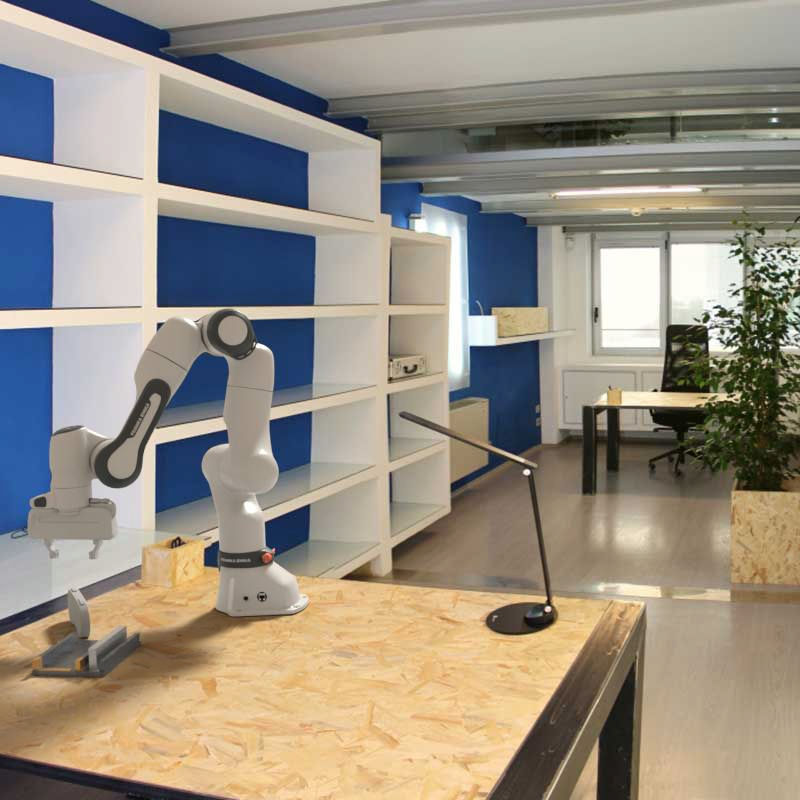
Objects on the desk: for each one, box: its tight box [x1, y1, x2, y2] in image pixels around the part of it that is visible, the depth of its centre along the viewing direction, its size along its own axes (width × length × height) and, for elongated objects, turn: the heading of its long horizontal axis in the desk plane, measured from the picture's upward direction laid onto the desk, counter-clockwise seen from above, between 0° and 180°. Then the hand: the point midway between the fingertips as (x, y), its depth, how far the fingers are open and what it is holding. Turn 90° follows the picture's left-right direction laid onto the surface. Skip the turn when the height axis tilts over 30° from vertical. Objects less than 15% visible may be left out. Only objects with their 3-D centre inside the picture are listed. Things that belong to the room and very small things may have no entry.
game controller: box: [67, 587, 91, 639], centre depth 233 cm, size 20×2×8 cm, turn 26°
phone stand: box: [31, 625, 142, 678], centre depth 211 cm, size 15×19×5 cm
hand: (74, 558), depth 231 cm, fingers open, 8 cm apart
